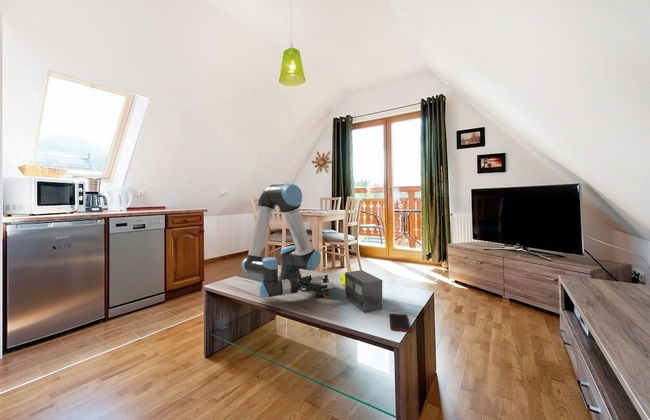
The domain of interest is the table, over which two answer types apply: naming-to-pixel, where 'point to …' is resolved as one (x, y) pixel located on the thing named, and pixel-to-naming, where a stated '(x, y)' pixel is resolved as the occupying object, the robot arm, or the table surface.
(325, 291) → the binoculars
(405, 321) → the cell phone
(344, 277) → the yellow toy chassis
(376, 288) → the box
